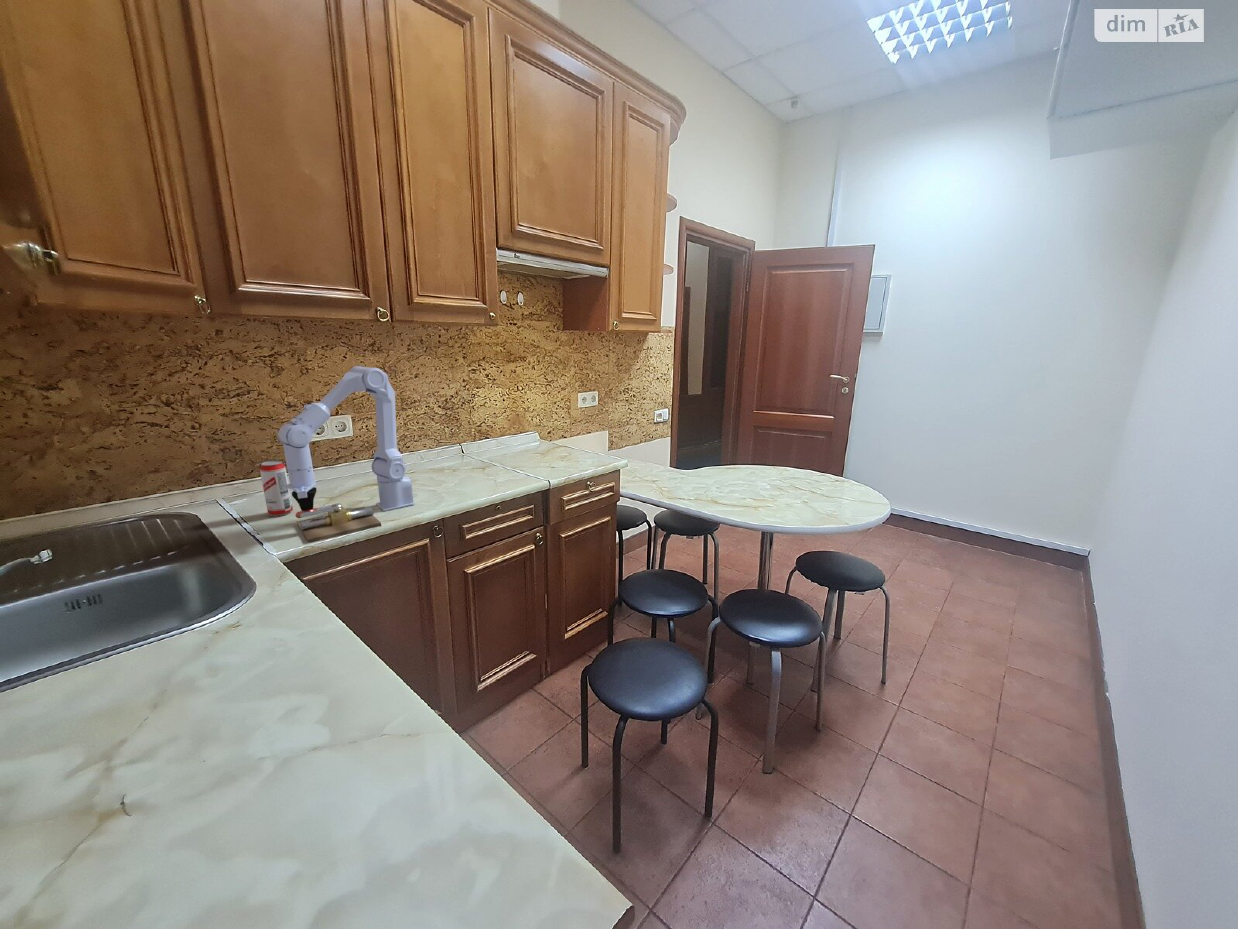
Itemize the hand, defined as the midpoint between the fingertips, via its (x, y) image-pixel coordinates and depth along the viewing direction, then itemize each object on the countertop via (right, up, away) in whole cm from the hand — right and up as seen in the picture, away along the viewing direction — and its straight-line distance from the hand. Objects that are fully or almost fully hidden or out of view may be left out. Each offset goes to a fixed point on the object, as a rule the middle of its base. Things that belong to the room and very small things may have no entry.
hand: (308, 514), depth 132 cm
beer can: (-16, -1, +12) cm, 20 cm away
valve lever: (+3, 0, 0) cm, 3 cm away
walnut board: (+6, -3, +4) cm, 8 cm away
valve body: (+6, -3, +4) cm, 8 cm away
